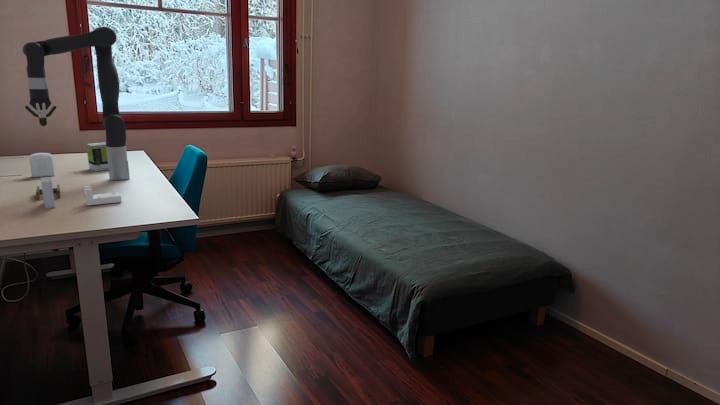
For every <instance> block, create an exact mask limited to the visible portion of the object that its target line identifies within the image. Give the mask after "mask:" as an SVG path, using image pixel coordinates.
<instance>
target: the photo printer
mask: <svg viewBox="0 0 720 405" xmlns="http://www.w3.org/2000/svg"><path fill="white" fill-rule="evenodd" d="M29 166H30V171H31V172H30V173H31V177H32V178H45V177H54V176H55V174H56V172H55V166H54V158H53V156H52V154H51V153H50V152H49V153H48V152H35V153H32V154H30V155H29Z"/></svg>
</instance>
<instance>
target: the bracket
mask: <svg viewBox="0 0 720 405" xmlns="http://www.w3.org/2000/svg"><path fill="white" fill-rule="evenodd" d="M83 192H84V200H85V205H86V206H94V205H105V204H115V203H122V196H121V194H120V193H119V192H109V193H98V194H94V191H93V189H92V186H91V185H87V186H85V185H84V186H83Z"/></svg>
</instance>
